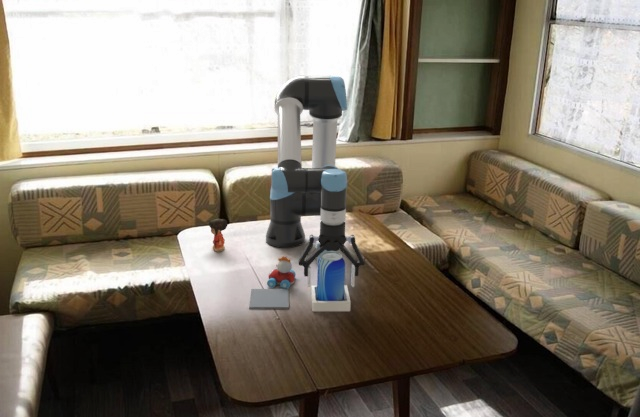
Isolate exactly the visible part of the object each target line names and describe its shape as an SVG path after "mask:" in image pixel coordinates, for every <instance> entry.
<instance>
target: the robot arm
mask: <svg viewBox="0 0 640 417" xmlns="http://www.w3.org/2000/svg"><path fill="white" fill-rule="evenodd" d="M275 96H276V97H275V99H274V111H275V113H276V115H277V167H273V168H272V169H271V187H270V195H269V199H270V208H269V209H270V215H269V216H270V221H269V225H268V228H267V230H266V234H265V242H266V243H267V244H268V245H269V246H272V247H275V248H276V247H277V248H283V249H284V248H286V249H287V248H289V249H291V248H296V247H299V246H301V245H303V244H304V243H305V242H306V235H305V231H304V228H303V225H302V224H303V223H302V219H301V218H302V217H303V216H305V217H307V216H309V217H314V216H315V217H317V216H318V217H319V219H320V222H319V226H320V227H319V236H315V235H313V234H310V235H309V237H308V238H309V239H308V242H307V244H306V245H305V247H304V249H303V251H302V253H301V254H300V257H299V258H298V260H297V261H298V266H299V267H303V275H304V277H307V288H311V270H312V269H311V268H312V267H311V264H313V262H314V261H315V260H317V257H318V256H319V255H320V254H321V253H322V252H323V251H324V250H327V251H337V250H338V251H339V250H340V252H341V254H342V253H343V255H344V256H345V258H347V259H348V260H349V261H350V263H351V271H350V272H351V275H350V284H351V285H350V286H351V287H352V288H355V280H356V279H355V278H356V277H358V276H359V269H360V267H361V266H365V265H366V263H365V260H364V257H363V255H362V253H361V251H360V249H359V247H358V245H357V243H356V238H355V235H354V234H351V235H350V236H346V222H345V221H346V214H347V193H348V192H347V190H348V189H347V188H348V176H347V175H348V174H347V172H346V171H345V170H343V169H340V168H338V167H337V166H336V156H337V137H338V132H337V131H338V120H339V119H340V118H342V116H343V112H344V111H346V110H347V109H348V101H347V100H348V99H347V91H346V84H345V80H344V78H342V77H341V76H333V75H297V76H294V77H292V78H289V79H288V80H286V82H285V83H283V85H281V87H280V88H279V90H278V92H277V93H276V95H275ZM304 111H308V113H309V114H308V115H309V116H310V117H311V118H312V119H313V120H312V122H313V124H312V146H311V147H312V150H311V152H312V153H311V168H310V167H302V166H303V165H302V135H301V134H302V133H301V128H302V127H301V114H303V112H304ZM317 242H318V244H319V243H320V245H319V246H318V248H317V249H316V248H315V250H314V251H313V252H312V253H311V254H310V255H309V253H310V251H311V250H312V248H313V246H314V244H316V243H317ZM346 242H348V244H351V247H352V249H353V251H354V253H355V256H356V257H357V259H358V260H357V259H356V258H355V256H354V255H353V254H352V253H351V252H350V251H349V249H348V248H346V246H345V243H346Z"/></svg>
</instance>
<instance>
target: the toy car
mask: <svg viewBox="0 0 640 417" xmlns="http://www.w3.org/2000/svg"><path fill="white" fill-rule="evenodd" d="M277 260H278V263H276V269H272V270H271V271H270V272H269V274H268V280H267V282H266V285H267V286H268V287H269V288H270V289H274V288H275V287H276V286H277V285H278V286H280V287H281V288H280V289H289V288H290V286H291V285H293V284H294V283H295V279H296V278H295V277H296V272H295V270H293V269H292V268H293V266H292V262H291V261H292V260H291V259H289V258H288V257H287V256H283V255H282V256H281V257H279V258H278V259H277Z"/></svg>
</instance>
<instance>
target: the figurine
mask: <svg viewBox="0 0 640 417" xmlns="http://www.w3.org/2000/svg"><path fill="white" fill-rule="evenodd" d="M208 225H209V228H210V232H211V234H213V235H214V236H213V241H212V244H213V246H212V250H213V251H214V252H217V253H218V252H222V251H224V250H226V248H225V247H226V246H225V245H224V244H225V237H224V235H223V233H222V231H225V230H226V229H227V227H228V220H227V219H224V218H222V219H221V218H215V219H211V220H210V221H209V222H208Z"/></svg>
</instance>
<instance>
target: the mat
mask: <svg viewBox="0 0 640 417" xmlns="http://www.w3.org/2000/svg"><path fill="white" fill-rule="evenodd" d="M289 290H290V289H289V288H288V289H282V288H251V290H250V298H249V310H253V309H254V310H267V309H268V310H273V309H274V310H279V309H280V310H288V309H290V301H289V300H290V299H289V294H290V292H289Z"/></svg>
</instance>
